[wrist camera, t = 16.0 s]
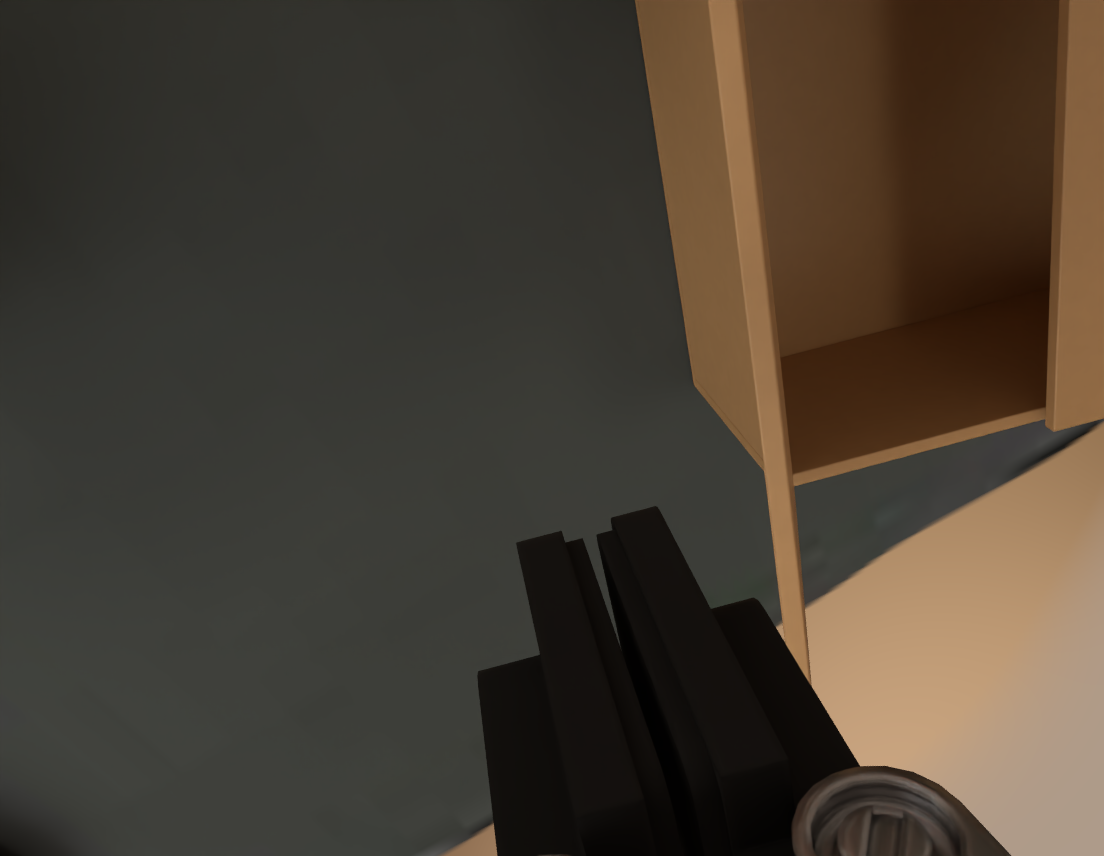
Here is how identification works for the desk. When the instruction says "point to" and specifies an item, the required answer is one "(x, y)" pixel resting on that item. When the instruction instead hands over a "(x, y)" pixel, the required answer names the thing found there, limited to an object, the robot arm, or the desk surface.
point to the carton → (894, 217)
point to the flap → (759, 309)
